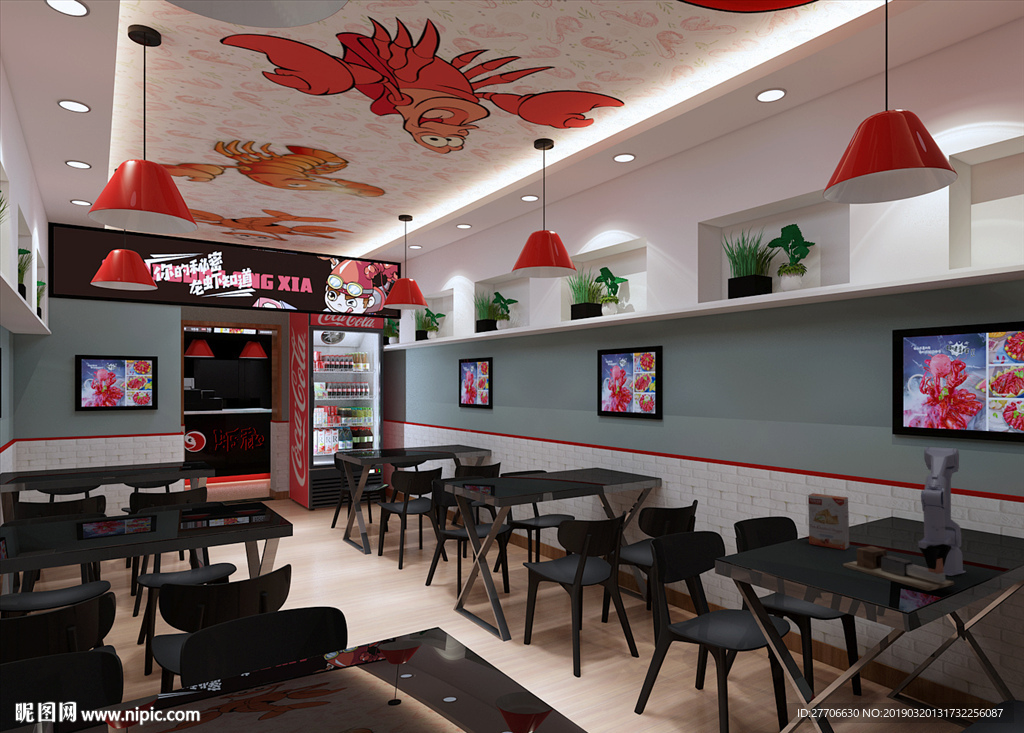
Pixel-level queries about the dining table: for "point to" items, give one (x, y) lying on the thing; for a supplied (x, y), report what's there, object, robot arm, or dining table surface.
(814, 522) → the cracker box
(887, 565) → the sleeve
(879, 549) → the socket block
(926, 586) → the board
